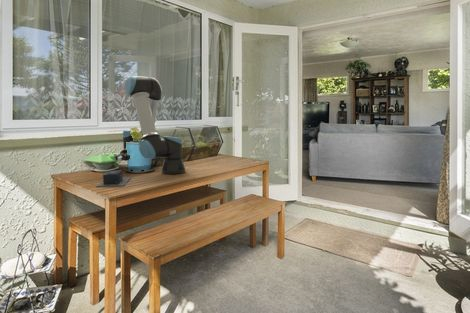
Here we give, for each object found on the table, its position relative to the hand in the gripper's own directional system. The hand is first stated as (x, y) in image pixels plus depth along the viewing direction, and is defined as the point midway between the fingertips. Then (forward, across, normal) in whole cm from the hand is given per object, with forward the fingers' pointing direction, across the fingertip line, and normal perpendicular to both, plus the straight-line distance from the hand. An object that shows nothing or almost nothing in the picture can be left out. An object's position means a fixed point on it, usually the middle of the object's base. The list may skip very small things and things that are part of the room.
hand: (119, 159), depth 187 cm
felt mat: (+13, 0, -10) cm, 17 cm away
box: (+10, 0, -7) cm, 12 cm away
